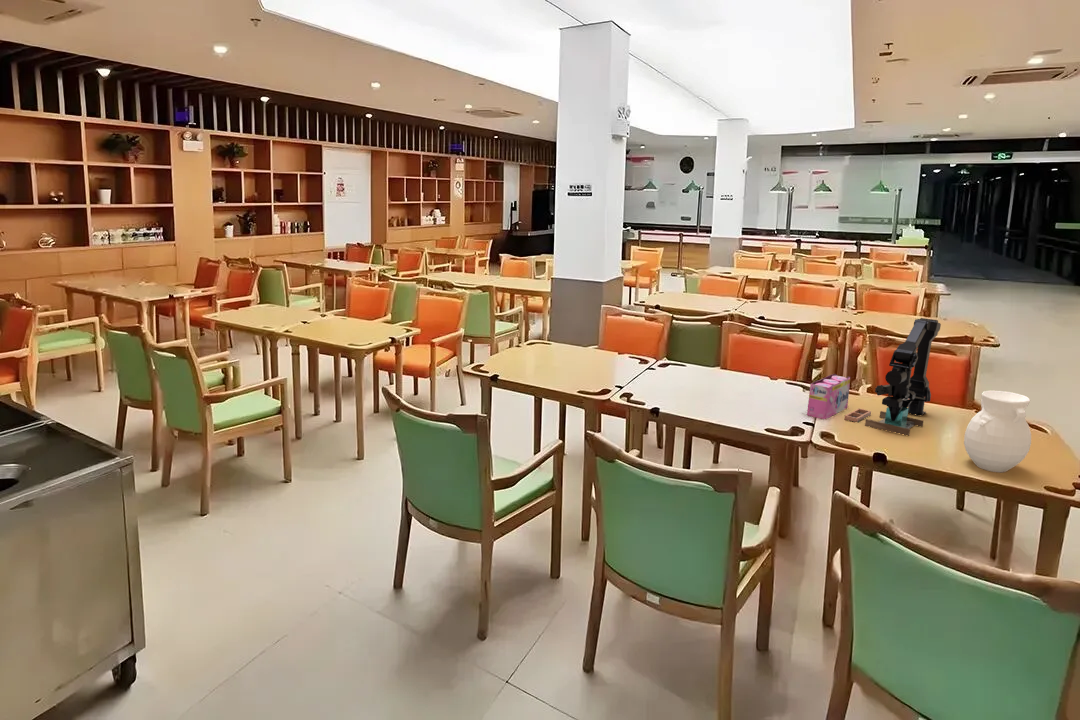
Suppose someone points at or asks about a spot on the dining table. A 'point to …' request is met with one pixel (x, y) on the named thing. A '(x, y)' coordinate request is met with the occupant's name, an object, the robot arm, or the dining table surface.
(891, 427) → the walnut channel
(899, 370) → the robot arm
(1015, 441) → the white vase
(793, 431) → the dining table surface
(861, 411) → the tray
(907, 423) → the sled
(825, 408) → the gum box
